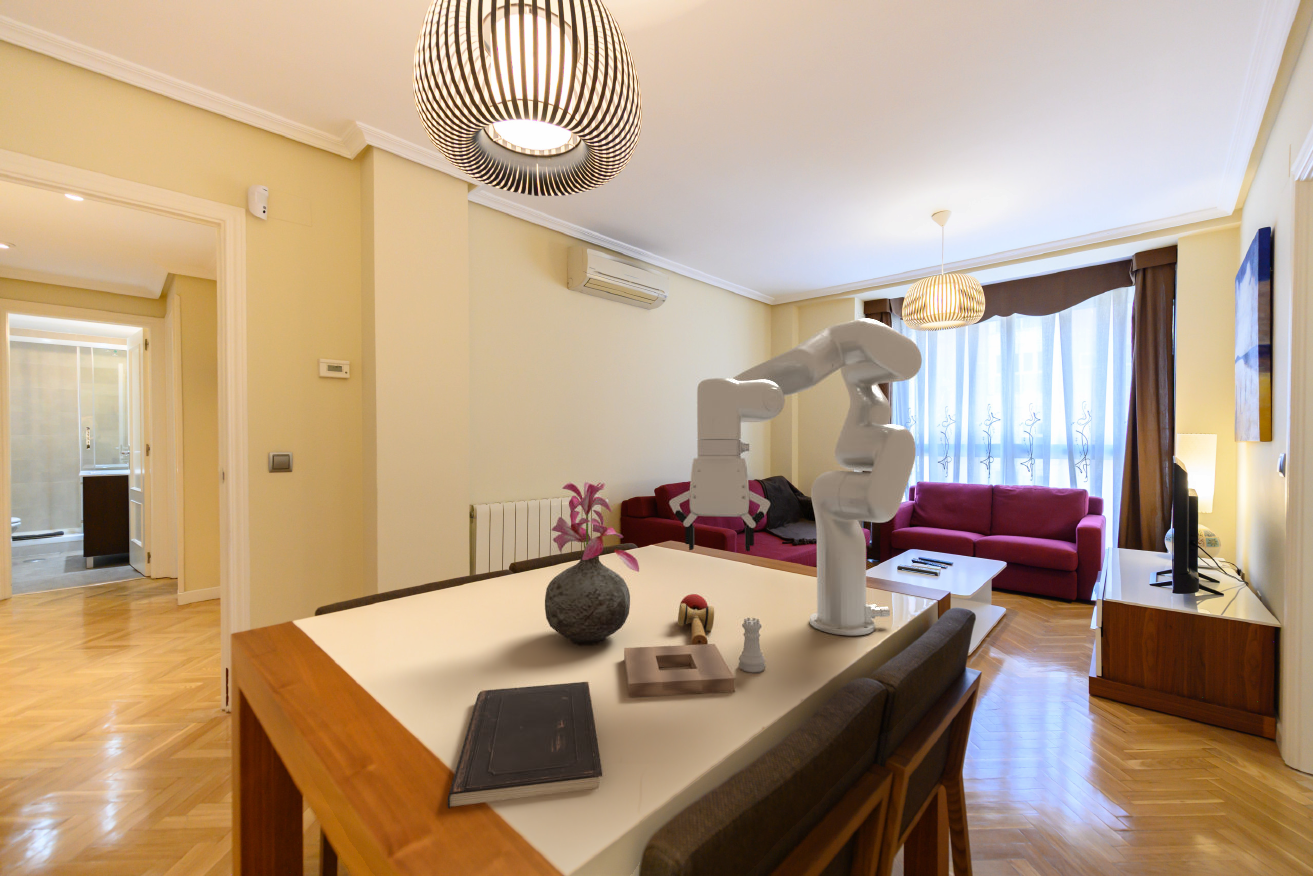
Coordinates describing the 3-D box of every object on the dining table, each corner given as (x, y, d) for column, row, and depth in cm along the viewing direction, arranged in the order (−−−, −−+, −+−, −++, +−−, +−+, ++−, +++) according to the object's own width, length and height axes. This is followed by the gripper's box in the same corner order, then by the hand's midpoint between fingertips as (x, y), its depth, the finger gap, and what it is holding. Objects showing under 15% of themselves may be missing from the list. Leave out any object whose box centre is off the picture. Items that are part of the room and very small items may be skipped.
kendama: (725, 656, 98) (713, 612, 116) (719, 624, 98) (708, 584, 115) (683, 664, 98) (678, 618, 116) (677, 632, 98) (672, 591, 116)
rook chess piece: (735, 663, 92) (735, 616, 92) (761, 662, 92) (761, 615, 92) (742, 674, 87) (741, 625, 88) (769, 673, 88) (768, 624, 88)
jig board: (714, 655, 95) (714, 643, 95) (734, 691, 81) (734, 678, 81) (624, 659, 94) (624, 648, 94) (628, 697, 80) (628, 683, 80)
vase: (540, 629, 109) (539, 481, 110) (623, 620, 115) (622, 478, 115) (550, 660, 93) (549, 487, 94) (646, 648, 99) (645, 484, 99)
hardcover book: (588, 696, 81) (588, 681, 81) (602, 794, 59) (602, 773, 59) (477, 706, 78) (477, 690, 78) (447, 814, 56) (447, 791, 56)
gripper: (768, 450, 96) (768, 546, 96) (671, 450, 98) (671, 544, 98) (771, 450, 89) (772, 555, 88) (667, 450, 91) (667, 552, 91)
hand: (719, 549), depth 93 cm, fingers open, 9 cm apart
